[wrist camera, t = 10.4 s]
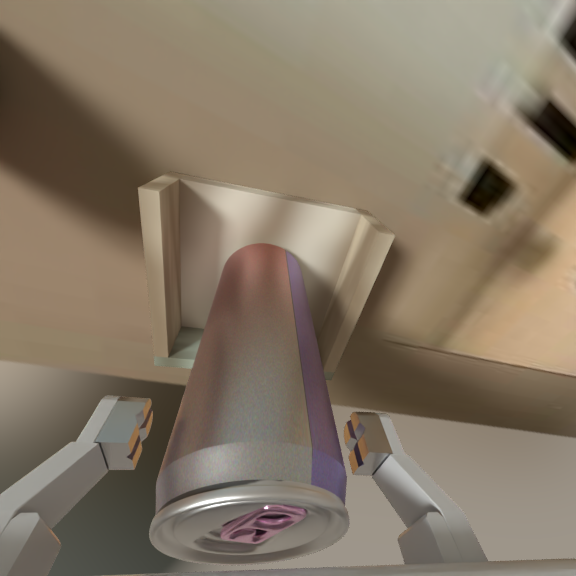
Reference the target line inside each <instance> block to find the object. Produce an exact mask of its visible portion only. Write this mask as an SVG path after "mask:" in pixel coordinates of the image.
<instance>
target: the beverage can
mask: <svg viewBox="0 0 576 576" xmlns="http://www.w3.org/2000/svg"><path fill="white" fill-rule="evenodd" d="M346 482H347V476H346V471H345V466H344V462H343V457H342V453H341V448H340V444H339V439H338V435H337V430H336V425H335V421H334V416H333V412H332V407H331V403H330V398H329V394H328V389H327V385H326V380H325V376H324V371H323V367H322V362H321V357H320V353H319V348H318V344H317V339H316V335H315V330H314V326H313V321H312V317H311V312H310V308H309V303H308V299H307V294H306V289H305V285H304V280H303V276H302V271H301V268H300V266H299V264H298V262H297V260H296V259H295V258H294V257H293V256H292V255H291V254H290V253H289V252H288V251H286V250H285V249H283V248H281V247H279V246H276V245H272V244H266V243H257V244H251V245H247V246H244V247H242V248H240V249H238V250H237V251H236V252H234V253H233V254H232V255H231V256H230V257H229V258H228V260H227V261H226V263H225V265H224V268H223V271H222V274H221V277H220V280H219V283H218V287H217V290H216V293H215V296H214V300H213V303H212V306H211V309H210V312H209V316H208V319H207V322H206V325H205V328H204V332H203V335H202V338H201V341H200V344H199V348H198V351H197V354H196V357H195V360H194V364H193V367H192V370H191V373H190V376H189V380H188V383H187V386H186V389H185V393H184V396H183V399H182V402H181V405H180V409H179V412H178V415H177V418H176V422H175V425H174V428H173V431H172V434H171V438H170V441H169V444H168V447H167V450H166V453H165V457H164V460H163V463H162V466H161V470H160V473H159V476H158V479H157V483H156V516H155V517H154V519H153V521H152V523H151V527H150V532H149V537H150V541H151V543H152V544H153V546H154V547H155V548H156V549H158V550H159V551H161V552H162V553H164V554H166V555H169V556H171V557H174V558H177V559H180V560H184V561H190V562H195V563H202V564H212V565H252V564H264V563H271V562H279V561H285V560H290V559H294V558H298V557H302V556H306V555H309V554H312V553H315V552H318V551H321V550H323V549H325V548H327V547H329V546H331V545H333V544H334V543H336V542H337V541H339V540H340V539H341V538H342V537H343V536H344V535H345V534H346V532H347V530H348V528H349V516H348V511H347V509H346V507H345V496H346Z"/></svg>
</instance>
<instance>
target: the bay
mask: <svg viewBox="0 0 576 576" xmlns="http://www.w3.org/2000/svg"><path fill="white" fill-rule="evenodd" d="M138 195H139V205H140V216H141V226H142V237H143V247H144V258H145V268H146V279H147V289H148V300H149V310H150V321H151V332H152V342H153V353H154V363H155V366H167V367H179V368H191V369H192V367H193V364H194V360H195V357H196V354H197V351H198V348H199V344H200V341H201V338H202V335H203V332H204V328H205V325H206V322H207V319H208V316H209V312H210V309H211V306H212V303H213V300H214V296H215V293H216V290H217V287H218V283H219V280H220V277H221V274H222V271H223V268H224V265H225V263H226V261H227V260H228V258H229V257H230V256H231V255H232V254H233V253H234V252H236V251H237V250H238V249H240V248H242V247H244V246H247V245H251V244H257V243H266V244H272V245H276V246H279V247H281V248H283V249H285V250H286V251H288V252H289V253H290V254H291V255H292V256H293V257H294V258H295V259H296V260H297V262H298V264H299V266H300V268H301V271H302V276H303V280H304V285H305V289H306V294H307V299H308V303H309V308H310V312H311V317H312V321H313V326H314V330H315V335H316V339H317V344H318V348H319V353H320V357H321V362H322V367H323V371H324V376H325V380H331V379H332V377H333V375H334V373H335V370H336V368H337V366H338V364H339V361H340V359H341V357H342V355H343V352H344V350H345V348H346V346H347V343H348V341H349V339H350V336H351V334H352V332H353V330H354V327H355V325H356V323H357V321H358V318H359V316H360V314H361V312H362V309H363V307H364V305H365V303H366V300H367V298H368V296H369V294H370V291H371V289H372V287H373V285H374V282H375V280H376V278H377V276H378V273H379V271H380V269H381V267H382V264H383V262H384V260H385V257H386V255H387V253H388V251H389V248H390V246H391V244H392V242H393V239H394V237H395V235H394V234H393V233H392V232H391V231H390V230H388V229H387V228H386V227H385V226H384V225H383V224H382V223H381V222H380V221H378V220H377V219H376V218H375V217H374V216H373V215H372V214H371V213H369V212H368V211H366V210H361V209H355V208H350V207H345V206H340V205H335V204H330V203H325V202H320V201H315V200H310V199H305V198H300V197H295V196H290V195H285V194H280V193H275V192H270V191H265V190H260V189H255V188H250V187H245V186H240V185H235V184H230V183H225V182H220V181H215V180H210V179H205V178H200V177H195V176H190V175H185V174H180V173H175V172H168V173H166V174H164V175H162V176H160V177H158V178H156V179H154V180H152V181H150V182H148V183H146V184H144V185H142V186H140V187H138Z"/></svg>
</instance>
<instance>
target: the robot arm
mask: <svg viewBox="0 0 576 576" xmlns="http://www.w3.org/2000/svg"><path fill="white" fill-rule="evenodd" d="M150 406H151V399H148V398H134V397H122V396H105V397H104V398H103V399H102V400H101V402H100V403H99V405H98V406H97V408H96V410H95V412H94V413H93V415H92V417H91V418H90V420H89V421H88V423H87V425H86V426H85V428H84V430H83V431H82V433H81V434H80V436H79V438H78V439H77V441H76V442H70V443H69V444H68V445H66V446H65V447H64V448H62V449H61V450H60V451H58V452H57V453H55V454H54V455H53V456H52V457H50V458H49V459H47V460H46V461H45V462H43V463H42V464H41V465H39V466H38V467H37V468H35V469H34V470H33V471H31V472H30V473H29V474H27V475H26V476H24V477H23V478H22V479H21V480H19V481H18V482H16V483H15V484H14V485H12V486H11V487H10V488H8V489H7V490H6V491H4V492H3V493H2V494H0V576H47V575H48V573H49V571H50V569H51V567H52V564H53V562H54V560H55V558H56V556H57V554H58V552H59V549H60V548H61V544H60V541H59V540H58V538H57V537H56V536H55V534H54V533H53V532H52V531H51V529H52V528H53V527H54V526H55V525H56V524H57V523H58V522H59V521H60V520H61V519H62V518H63V517H64V516H65V515H66V514H67V513H68V512H69V511H70V509H72V508H73V507H74V505H76V504H77V503H78V502H79V500H80V499H81V498H82V497H83V496H84V495H85V494H86V493H87V492H88V491H89V490H90V489H91V488H92V487H93V486H94V485H95V484H96V483H97V482H98V481H99V480H100V479H101V478H102V477H103V476H104V475H105V474H106V473H107V472H108V470H134V469H135V466H136V464H137V461H138V459H139V456H140V454H141V451H142V445H141V442H142V441H143V440H144V439H145V438H146V437H147V436H148V433H149V430H150V427H151V423H152V417H153V412H152V410H151V409H150ZM350 418H351V420H350V421H348V422H347V423H346V425H345V428H344V439H345V444H346V446H347V448H348V449H349V450H350V454H349V461H350V465H351V469H352V473H353V475H365V476H372V478H373V479H374V480H375V482H376V484H377V485H378V486H379V488H380V489H381V491H382V492H383V494H384V495H385V496H386V498H387V499H388V501H389V502H390V503H391V505H392V507H393V508H394V509H395V511H396V512H397V514H398V515H399V516H400V518H401V519H402V521H403V522H404V524H405V525H406V527H407V528H408V529H407V530H405V531H404V532H403V533H402V534H400V535H399V537H398V543H399V545H400V549H401V553H402V555H403V559H404V562H405V565H380V566H351V567H323V568H300V569H297V568H296V569H271V570H270V569H269V570H245V571H244V570H243V571H216V572H188V573H161V574H134V575H106V576H576V559H544V560H543V559H542V560H516V561H488V560H487V558H486V556H485V554H484V552H483V550H482V548H481V546H480V544H479V542H478V540H477V538H476V536H475V534H474V532H473V530H472V528H471V526H470V524H469V522H468V520H467V518H466V516H465V514H464V512H463V511H462V510H461V508H459V506H458V505H457V504H456V503H455V502H454V501H453V500H452V499H451V498H450V497H449V496H448V495H447V494H446V493H445V492H444V491H443V490H442V489H441V488H440V487H439V486H438V484H437V483H436V482H435V481H434V480H433V479H432V478H431V477H430V476H429V475H428V474H427V473H426V472H425V471H424V470H423V469H422V468H421V467H420V466H419V465H418V464H417V463H416V462H415V461H414V459H413V458H412V457H411V456H410V455H406V454H405V452H404V449H403V447H402V444H401V442H400V440H399V437H398V435H397V432H396V430H395V428H394V425H393V423H392V421H391V418H390V416H389V415H388V414H385V413H372V412H353V413H352V414H351V416H350Z"/></svg>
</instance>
